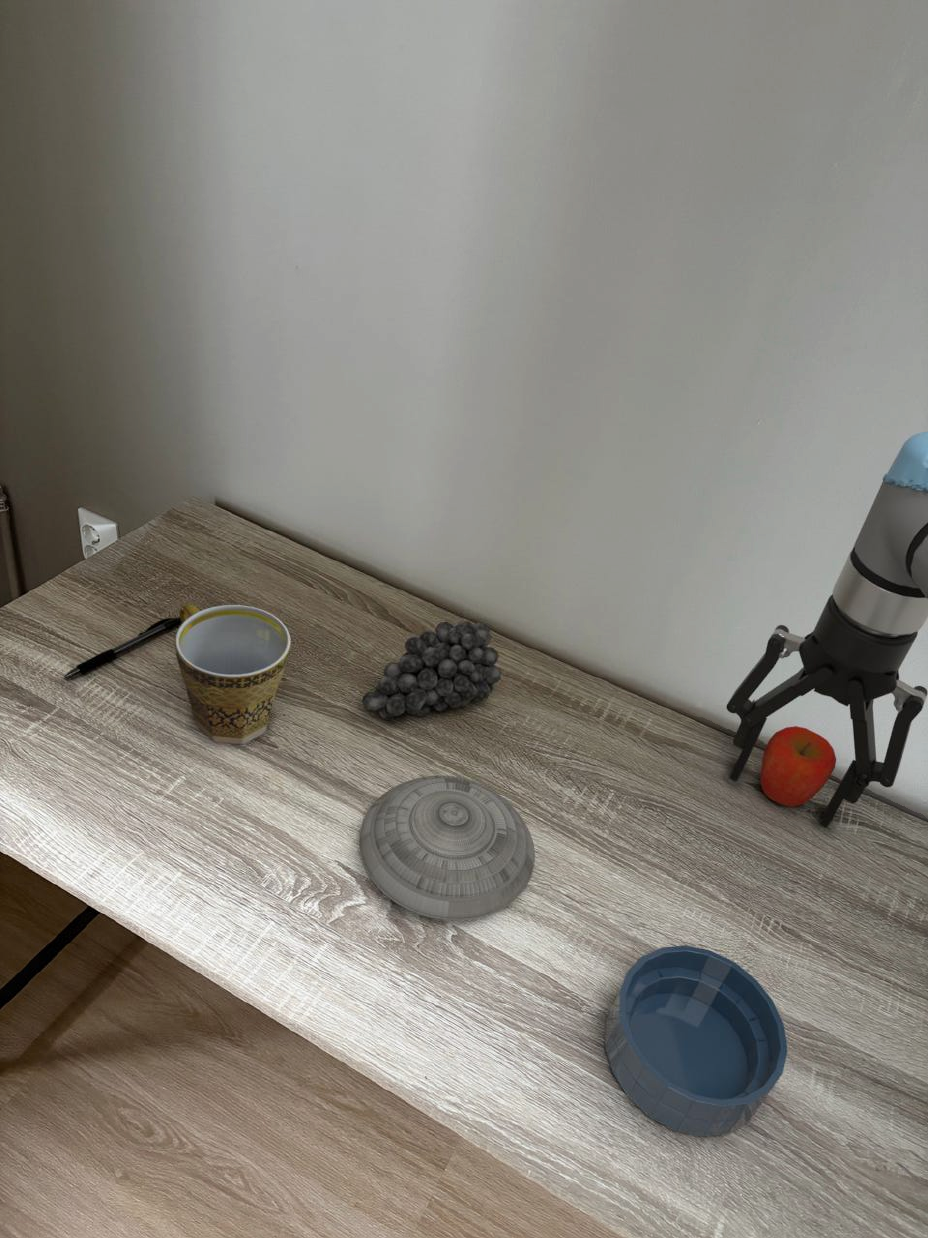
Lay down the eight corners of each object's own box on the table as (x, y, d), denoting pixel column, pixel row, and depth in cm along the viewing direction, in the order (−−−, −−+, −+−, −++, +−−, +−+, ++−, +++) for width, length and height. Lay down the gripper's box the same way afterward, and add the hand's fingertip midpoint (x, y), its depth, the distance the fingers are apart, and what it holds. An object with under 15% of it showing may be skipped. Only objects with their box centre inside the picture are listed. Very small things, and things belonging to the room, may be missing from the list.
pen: (178, 616, 103) (178, 608, 102) (188, 624, 102) (188, 615, 102) (59, 676, 94) (57, 667, 93) (69, 685, 93) (68, 676, 92)
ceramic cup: (308, 726, 93) (313, 646, 87) (220, 775, 87) (219, 693, 81) (226, 655, 100) (226, 575, 93) (138, 696, 93) (132, 613, 87)
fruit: (378, 667, 88) (514, 623, 95) (337, 638, 94) (467, 599, 101) (387, 751, 91) (517, 702, 98) (346, 717, 98) (471, 674, 105)
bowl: (797, 1096, 71) (822, 1062, 68) (669, 1170, 66) (690, 1136, 63) (694, 961, 79) (712, 924, 76) (572, 1017, 74) (587, 980, 71)
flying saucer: (414, 764, 92) (422, 722, 88) (559, 838, 87) (572, 797, 84) (322, 873, 81) (326, 829, 77) (481, 964, 76) (493, 922, 73)
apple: (754, 815, 93) (781, 760, 88) (743, 767, 98) (768, 713, 93) (818, 825, 93) (849, 771, 88) (804, 777, 98) (833, 723, 93)
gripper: (1012, 644, 81) (897, 823, 94) (767, 542, 88) (694, 722, 102) (1000, 691, 75) (881, 874, 89) (740, 579, 82) (667, 764, 96)
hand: (781, 793), depth 95 cm, fingers open, 8 cm apart
